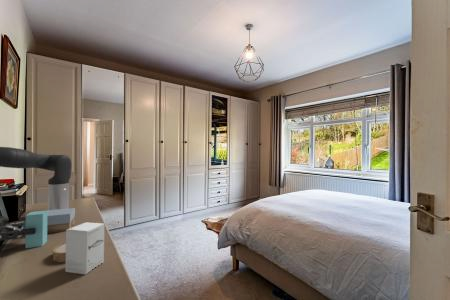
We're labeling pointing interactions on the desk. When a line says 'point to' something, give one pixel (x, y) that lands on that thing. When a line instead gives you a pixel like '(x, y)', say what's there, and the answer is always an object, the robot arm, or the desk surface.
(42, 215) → the teal block
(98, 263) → the supplement box
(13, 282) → the desk surface
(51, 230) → the block
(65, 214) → the tower top
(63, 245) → the alarm clock
